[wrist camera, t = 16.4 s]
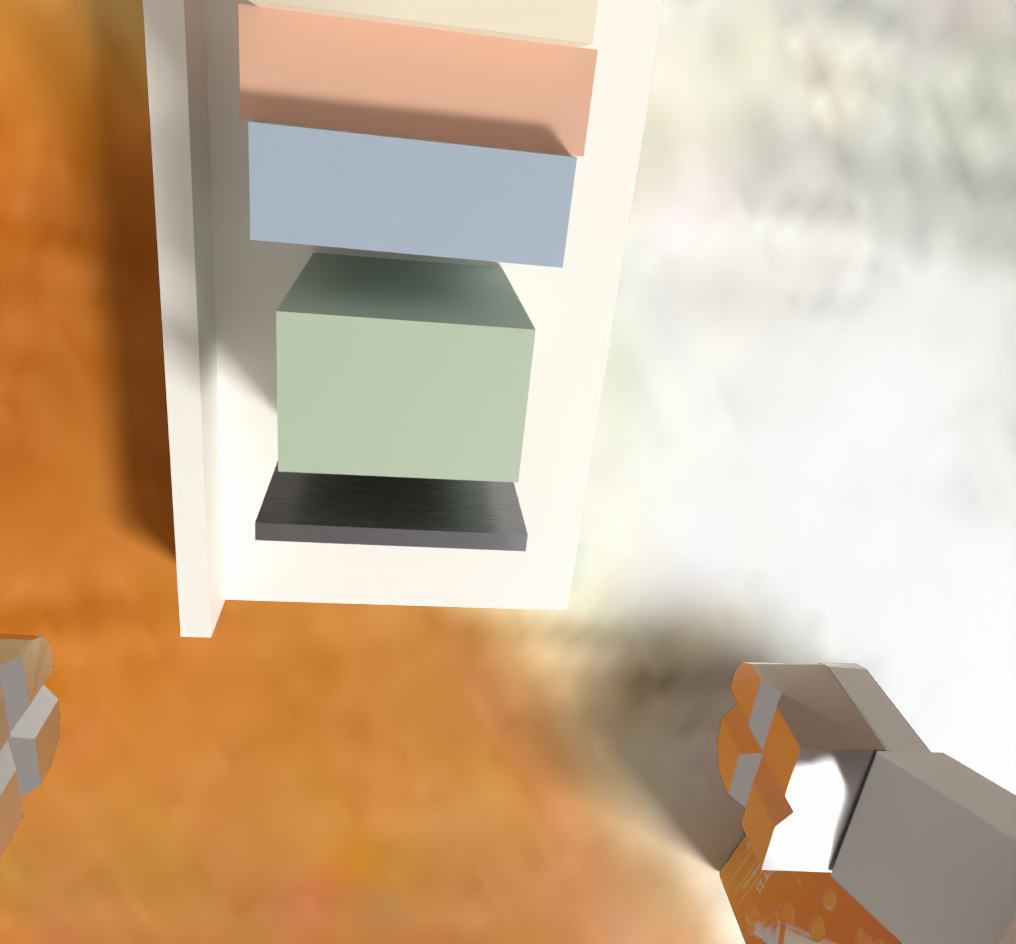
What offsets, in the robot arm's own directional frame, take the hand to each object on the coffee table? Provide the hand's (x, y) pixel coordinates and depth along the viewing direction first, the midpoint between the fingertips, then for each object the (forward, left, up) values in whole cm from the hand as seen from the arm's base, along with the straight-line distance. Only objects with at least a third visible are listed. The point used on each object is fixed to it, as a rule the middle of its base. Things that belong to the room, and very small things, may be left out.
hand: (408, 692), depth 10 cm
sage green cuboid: (0, 0, -19) cm, 19 cm away
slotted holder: (0, 0, -20) cm, 20 cm away
